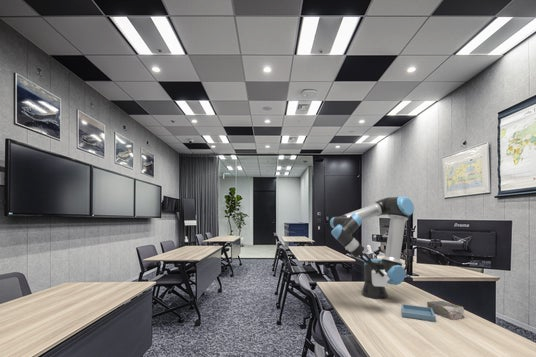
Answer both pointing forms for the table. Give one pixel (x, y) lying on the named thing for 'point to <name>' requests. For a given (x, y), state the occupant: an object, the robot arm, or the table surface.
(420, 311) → the tray
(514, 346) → the table surface
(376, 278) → the medicine bottle
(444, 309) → the geological specimen
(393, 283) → the robot arm
